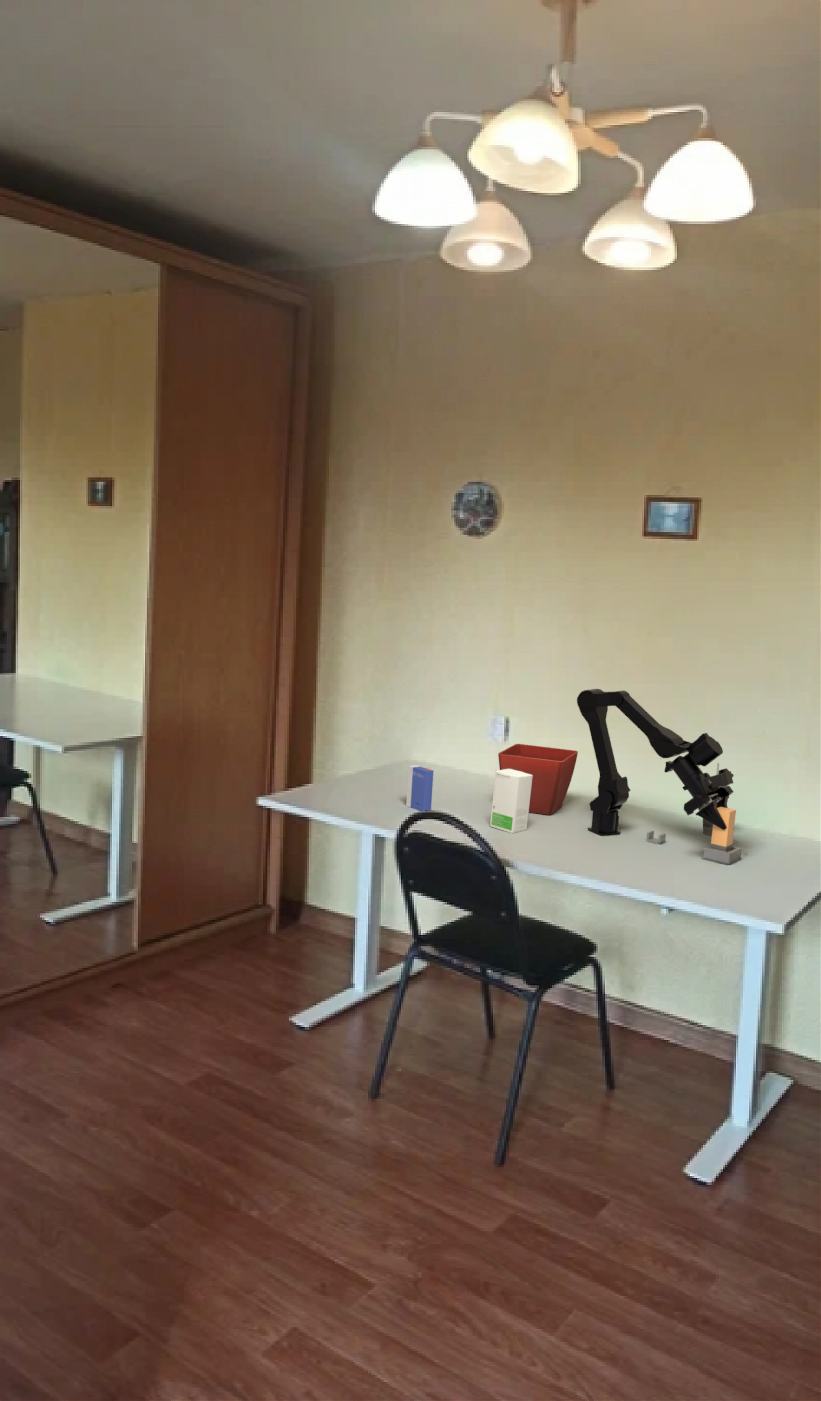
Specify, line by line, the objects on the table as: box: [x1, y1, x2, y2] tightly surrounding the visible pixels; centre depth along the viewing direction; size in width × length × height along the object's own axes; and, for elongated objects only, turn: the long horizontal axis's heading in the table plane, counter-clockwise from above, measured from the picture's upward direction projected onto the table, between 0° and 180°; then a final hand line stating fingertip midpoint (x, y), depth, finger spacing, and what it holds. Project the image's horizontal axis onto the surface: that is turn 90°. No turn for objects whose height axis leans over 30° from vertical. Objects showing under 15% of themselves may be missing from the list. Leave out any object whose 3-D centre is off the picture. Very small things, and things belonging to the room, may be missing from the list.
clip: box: [645, 830, 667, 845], centre depth 298 cm, size 3×4×2 cm
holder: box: [700, 845, 742, 866], centre depth 285 cm, size 7×7×3 cm
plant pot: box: [497, 743, 579, 816], centre depth 326 cm, size 19×19×17 cm
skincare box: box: [489, 769, 533, 834], centre depth 301 cm, size 8×7×16 cm
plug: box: [709, 807, 737, 852], centre depth 284 cm, size 4×4×11 cm
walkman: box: [405, 764, 434, 812], centre depth 318 cm, size 8×3×12 cm, turn 39°
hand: (728, 827), depth 283 cm, fingers closed on plug, 4 cm apart
